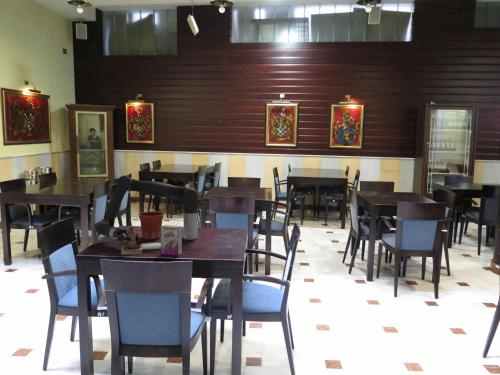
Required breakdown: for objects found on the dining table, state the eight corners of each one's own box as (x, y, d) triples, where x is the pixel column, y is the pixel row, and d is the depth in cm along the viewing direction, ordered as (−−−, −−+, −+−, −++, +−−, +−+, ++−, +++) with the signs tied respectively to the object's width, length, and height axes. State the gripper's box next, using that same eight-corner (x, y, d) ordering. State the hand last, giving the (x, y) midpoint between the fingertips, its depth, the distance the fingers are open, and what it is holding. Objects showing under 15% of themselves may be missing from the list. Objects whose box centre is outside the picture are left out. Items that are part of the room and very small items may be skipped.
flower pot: (134, 236, 279) (134, 213, 277) (157, 233, 290) (156, 210, 288) (145, 242, 267) (145, 216, 265) (168, 238, 277) (168, 214, 275)
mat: (141, 244, 261) (141, 243, 260) (161, 243, 263) (161, 242, 263) (141, 249, 249) (141, 248, 249) (161, 248, 252) (161, 247, 252)
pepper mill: (128, 250, 246) (127, 225, 244) (136, 250, 247) (135, 225, 245) (127, 253, 241) (127, 227, 239) (135, 252, 242) (135, 227, 240)
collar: (122, 249, 248) (122, 245, 248) (141, 248, 250) (141, 244, 250) (121, 254, 237) (121, 250, 237) (141, 253, 240) (141, 249, 240)
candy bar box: (160, 254, 239) (160, 226, 237) (164, 252, 244) (164, 224, 242) (178, 256, 236) (178, 227, 234) (182, 254, 241) (182, 225, 239)
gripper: (107, 229, 247) (123, 234, 235) (128, 226, 257) (145, 230, 246) (107, 242, 248) (123, 247, 236) (129, 238, 258) (145, 243, 247)
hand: (134, 238), depth 241 cm, fingers closed on pepper mill, 4 cm apart
